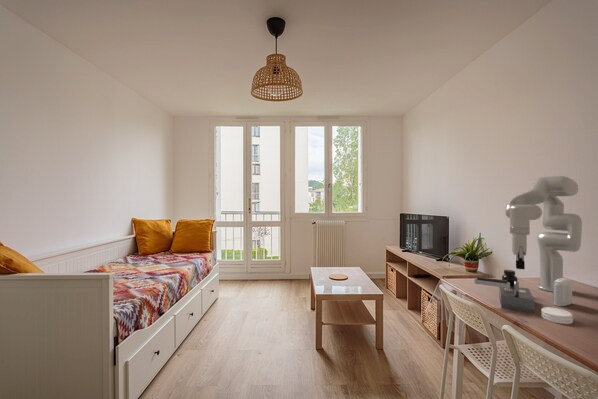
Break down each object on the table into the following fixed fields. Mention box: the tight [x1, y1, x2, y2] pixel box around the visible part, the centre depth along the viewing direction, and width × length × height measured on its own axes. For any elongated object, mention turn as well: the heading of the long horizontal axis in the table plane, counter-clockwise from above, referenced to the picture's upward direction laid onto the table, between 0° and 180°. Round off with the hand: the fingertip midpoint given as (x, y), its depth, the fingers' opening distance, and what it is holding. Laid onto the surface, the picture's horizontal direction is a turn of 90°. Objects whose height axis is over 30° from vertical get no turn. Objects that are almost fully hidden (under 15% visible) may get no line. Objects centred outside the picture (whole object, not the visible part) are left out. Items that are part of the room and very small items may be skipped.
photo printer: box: [552, 277, 573, 307], centre depth 136 cm, size 10×4×12 cm, turn 115°
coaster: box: [540, 306, 574, 325], centre depth 120 cm, size 10×10×4 cm
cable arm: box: [474, 276, 510, 288], centre depth 137 cm, size 14×3×3 cm, turn 55°
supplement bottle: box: [501, 269, 519, 287], centre depth 153 cm, size 7×7×12 cm
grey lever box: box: [498, 281, 535, 314], centre depth 137 cm, size 18×12×12 cm, turn 147°
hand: (520, 268), depth 138 cm, fingers closed
